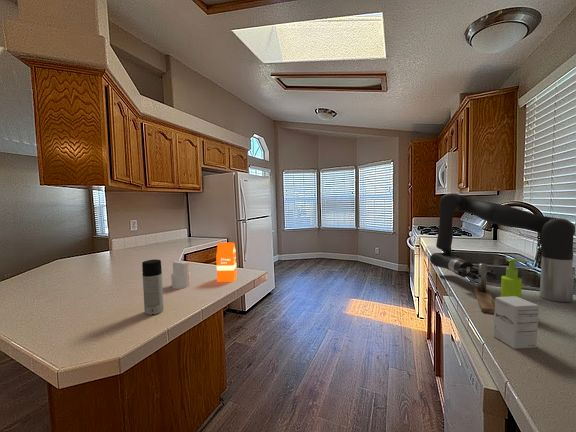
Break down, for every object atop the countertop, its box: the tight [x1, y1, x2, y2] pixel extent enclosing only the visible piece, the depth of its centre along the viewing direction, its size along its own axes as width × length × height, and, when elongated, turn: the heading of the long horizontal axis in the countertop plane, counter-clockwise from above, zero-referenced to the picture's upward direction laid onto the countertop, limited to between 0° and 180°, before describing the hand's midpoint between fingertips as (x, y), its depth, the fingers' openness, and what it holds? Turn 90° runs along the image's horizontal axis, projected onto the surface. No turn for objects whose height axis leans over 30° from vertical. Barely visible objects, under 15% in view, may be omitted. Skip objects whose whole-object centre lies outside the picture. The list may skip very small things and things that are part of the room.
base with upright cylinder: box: [473, 262, 495, 315], centre depth 110 cm, size 15×25×14 cm, turn 152°
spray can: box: [141, 259, 164, 316], centre depth 107 cm, size 7×7×20 cm
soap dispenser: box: [500, 258, 527, 299], centre depth 102 cm, size 6×7×20 cm
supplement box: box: [493, 296, 540, 350], centre depth 82 cm, size 7×7×13 cm
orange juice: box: [215, 242, 238, 283], centre depth 147 cm, size 8×9×20 cm
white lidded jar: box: [170, 260, 192, 290], centre depth 138 cm, size 9×9×12 cm
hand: (485, 276), depth 118 cm, fingers open, 8 cm apart
